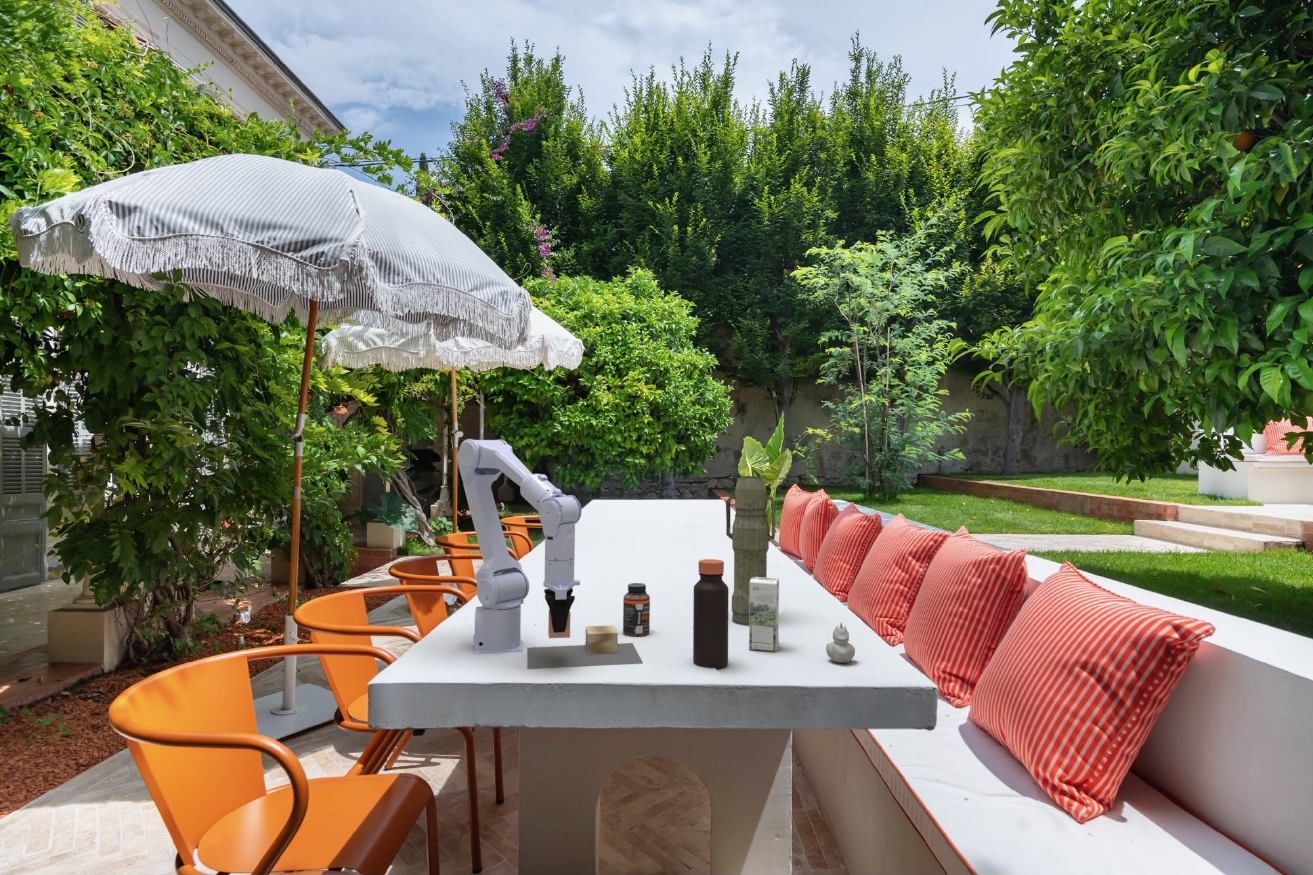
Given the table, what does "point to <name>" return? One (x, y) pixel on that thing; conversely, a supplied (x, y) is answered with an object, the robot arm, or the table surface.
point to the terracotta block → (559, 634)
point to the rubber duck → (840, 646)
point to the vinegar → (710, 616)
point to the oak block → (601, 639)
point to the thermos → (748, 540)
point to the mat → (579, 656)
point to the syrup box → (763, 614)
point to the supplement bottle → (636, 611)
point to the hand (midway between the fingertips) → (558, 628)
